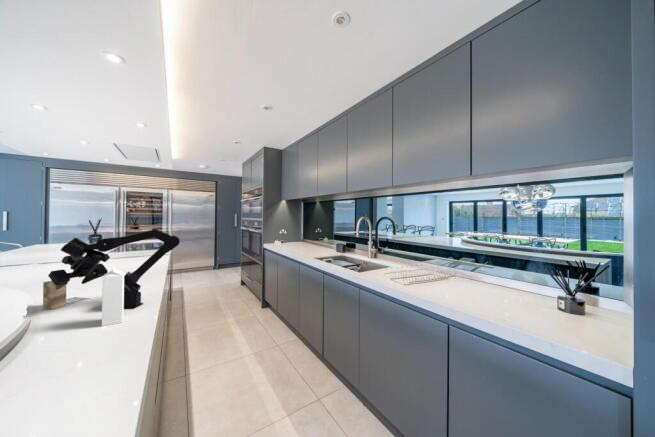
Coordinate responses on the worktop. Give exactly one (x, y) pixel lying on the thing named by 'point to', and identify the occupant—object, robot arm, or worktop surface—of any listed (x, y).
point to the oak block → (53, 296)
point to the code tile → (75, 300)
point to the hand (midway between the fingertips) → (70, 286)
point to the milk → (112, 297)
